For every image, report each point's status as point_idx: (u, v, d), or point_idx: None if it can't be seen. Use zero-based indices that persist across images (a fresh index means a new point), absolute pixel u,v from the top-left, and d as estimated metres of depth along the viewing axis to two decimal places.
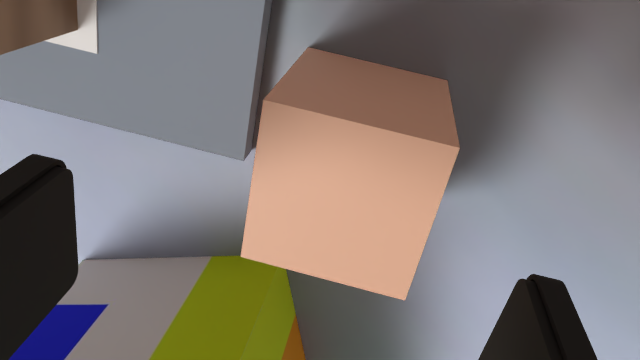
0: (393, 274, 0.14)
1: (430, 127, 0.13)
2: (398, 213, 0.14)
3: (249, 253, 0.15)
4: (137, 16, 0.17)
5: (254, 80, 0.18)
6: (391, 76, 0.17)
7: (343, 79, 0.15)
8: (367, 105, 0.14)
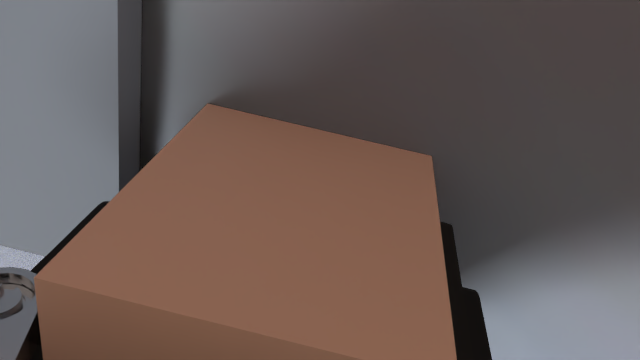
0: None
1: (398, 313, 0.06)
2: None
3: None
4: None
5: (119, 159, 0.11)
6: (338, 159, 0.10)
7: (246, 180, 0.09)
8: (275, 256, 0.07)
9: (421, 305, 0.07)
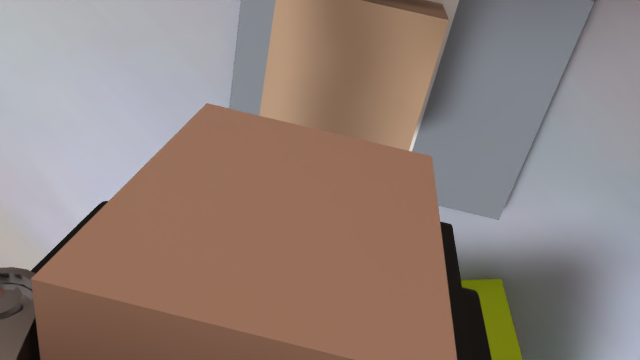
0: None
1: (398, 315, 0.06)
2: None
3: None
4: (447, 131, 0.27)
5: (519, 170, 0.27)
6: (337, 160, 0.10)
7: (245, 181, 0.09)
8: (274, 256, 0.07)
9: (421, 306, 0.07)
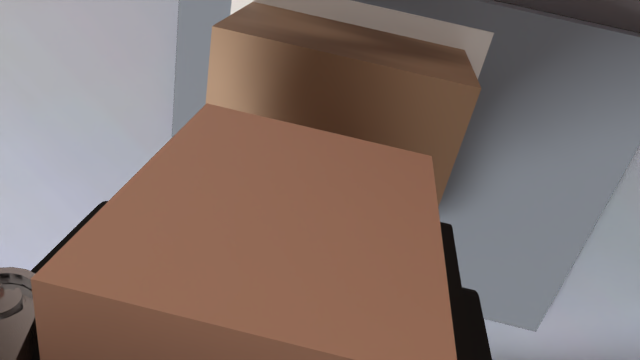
0: None
1: (398, 315, 0.06)
2: None
3: None
4: (468, 220, 0.19)
5: (567, 272, 0.20)
6: (337, 160, 0.10)
7: (245, 181, 0.09)
8: (274, 257, 0.07)
9: (421, 306, 0.07)
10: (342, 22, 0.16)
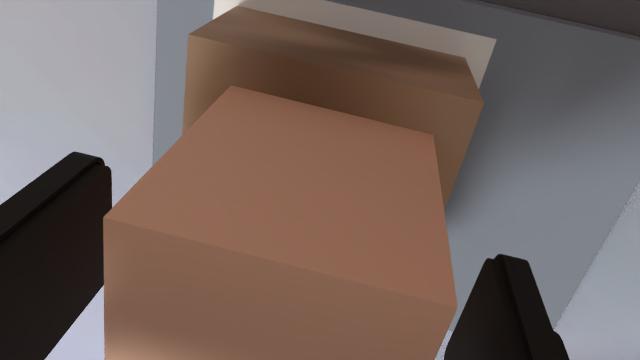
0: None
1: (406, 255, 0.08)
2: None
3: None
4: (468, 236, 0.18)
5: (574, 291, 0.19)
6: (350, 135, 0.11)
7: (271, 149, 0.10)
8: (300, 209, 0.08)
9: (425, 250, 0.08)
10: (333, 28, 0.15)
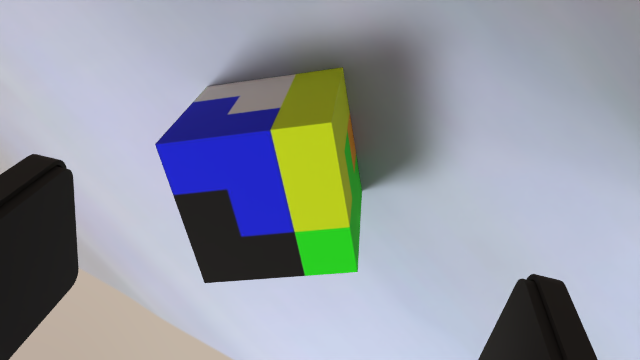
0: None
1: None
2: None
3: None
4: None
5: None
6: None
7: None
8: None
9: None
10: None
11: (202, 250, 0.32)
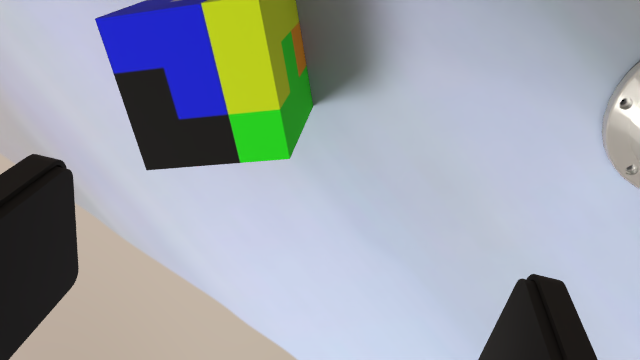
0: None
1: None
2: None
3: None
4: None
5: None
6: None
7: None
8: None
9: None
10: None
11: (142, 134, 0.33)
